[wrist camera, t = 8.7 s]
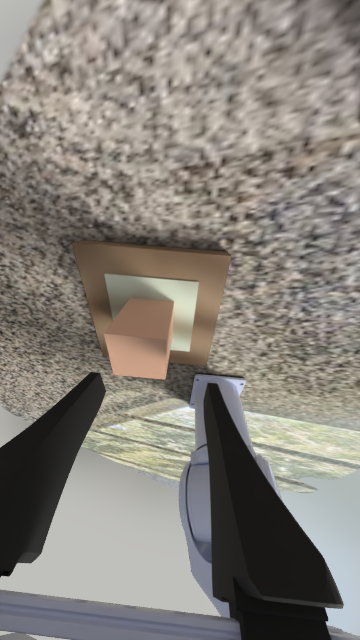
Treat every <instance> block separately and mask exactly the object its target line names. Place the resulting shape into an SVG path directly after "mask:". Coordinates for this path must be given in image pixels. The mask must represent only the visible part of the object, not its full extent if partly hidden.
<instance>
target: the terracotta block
mask: <svg viewBox="0 0 360 640" xmlns="http://www.w3.org/2000/svg"><path fill="white" fill-rule="evenodd" d="M173 317H174V301H164V300H153V299H142V298H130V299H129V300H128V302H127V303H126V304H125V306H124V307H123V308H122V310H121V311H120V312H119V314H118V315H117V316H116V318H115V319H114V321H113V322H112V323H111V325H110V326H109V327H108V329H107V330H106V331H105V333H104V337H105V341H106V345H107V349H108V353H109V357H110V362H111V366H112V370H113V374H114V375H123V376H133V377H143V378H154V379H164V380H165V379H166V373H167V367H168V360H169V354H170V348H171V342H172V335H173Z"/></svg>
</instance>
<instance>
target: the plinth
mask: <svg viewBox="0 0 360 640" xmlns="http://www.w3.org/2000/svg"><path fill="white" fill-rule="evenodd" d="M72 246H73V250H74V253H75V257H76V260H77V264H78V268H79V271H80V275H81V279H82V282H83V286H84V289H85V293H86V297H87V300H88V304H89V307H90V311H91V315H92V318H93V322H94V326H95V329H96V333H97V336H98V340H99V344H100V347H101V351H102V354H103V356H105V357H109V353H108V349H107V345H106V341H105V337H104V333H105V331H106V330H107V329H108V327H109V326H110V325H111V323H112V322H113V321H114V319H115V318H116V316H117V315H118V314H119V312H120V311H121V310H122V308H123V307H124V306H125V304H126V303H127V302H128V300H129V299H130V298H142V299H153V300H164V301H174V317H173V335H172V342H171V348H170V354H169V360H168V362H170V363H181V364H192V365H202V366H206V365H207V361H208V356H209V352H210V347H211V343H212V339H213V334H214V330H215V326H216V321H217V317H218V313H219V308H220V304H221V299H222V295H223V291H224V286H225V282H226V278H227V273H228V269H229V265H230V260H231V255H230V254H229V253H228V252H226V251H213V250H201V249H189V248H177V247H165V246H153V245H140V244H128V243H116V242H104V241H92V240H82V241H78V242H73V243H72Z"/></svg>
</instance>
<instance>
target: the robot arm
mask: <svg viewBox="0 0 360 640" xmlns="http://www.w3.org/2000/svg"><path fill="white" fill-rule="evenodd" d="M245 383H246V380H245V379H244V378H235V377H224V376H214V375H203V374H196V375H195V377H194V383H193V388H192V394H191V399H190V405H189V407H190V408H192V409H195V447H196V451H193V452H191V461H188V462H187V463H186V465H185V467H184V470H183V472H182V474H181V478H180V485H179V510H180V517H181V522H182V526H183V528H184V531H185V535H186V540H187V545H188V552H189V559H190V563H191V572H192V574H193V576H194V578H195V579H196V581H197V582H198V584H199V585H200V587H201V588H202V589H203V591H204V592H205V594H206V595H207V596H208V598H209V599H210V600H211V602H212V603H213V605H214V606H215V607H216V609H217V610H218V612H219V613H220V615H221V616H222V617H219V616H210V615H203V614H195V613H186V612H178V611H170V610H161V609H153V608H145V607H136V606H129V605H120V604H113V603H104V602H96V601H88V600H79V599H71V598H63V597H54V596H47V595H38V594H30V593H22V592H14V591H6V590H0V631H8V632H16V633H11V634H6V635H2V636H0V640H36V639H34V638H32V637H30V636H28V635H26V634H32V635H39V636H47V637H55V638H63V639H71V640H360V636H356V635H352V634H350V633H347V632H343V631H342V630H341V629H338V628H335V627H333V626H327V625H326V622H325V621H328V616H327V613H326V610H325V607H327V608H338V609H339V608H340V609H341V608H343V605H344V604H343V601H342V599H341V596H340V593H339V591H338V589H337V586H336V583H335V581H334V579H333V577H332V575H331V572H330V570H329V568H328V566H327V564H326V562H325V560H324V558H323V556H322V555H321V553H320V552H319V551H318V549H317V548H316V547H315V546H314V544H313V543H312V541H311V540H310V539H309V537H308V536H307V535H306V534H305V532H304V531H303V530H302V528H301V527H300V526H299V524H298V523H297V521H296V520H295V519H294V517H293V516H292V514H291V513H290V512H289V510H288V509H287V508H286V506H285V505H284V503H283V502H282V499H281V496H280V493H279V490H278V487H277V484H276V481H275V478H274V475H273V472H272V469H271V467H270V464H269V462H268V461H267V460H266V459H265V458H263V456H262V455H260V454H259V455H256V454H255V452H254V449H253V445H252V441H251V437H250V434H249V430H248V426H247V422H246V418H245V415H244V411H243V407H242V403H241V400H240V394H241V392H242V389H243V387H244V385H245ZM105 393H106V390H105V387H104V384H103V381H102V378H101V375H100V373H95V372H91V373H89V374H88V375H87V376H86V377H85V378H84V379H83V380H82V381H81V382H80V383H79V384H78V385H77V386H75V387H74V388H73V389H72V390H71V391H70V392H69V393H68V394H67V395H66V396H65V397H63V398H62V399H61V400H60V401H59V402H58V403H57V404H56V405H54V406H53V407H52V408H51V409H50V410H49V411H47V412H46V413H45V414H44V415H43V416H41V417H40V418H39V419H38V420H37V421H35V422H34V423H33V424H32V425H30V426H29V427H28V428H26V429H25V430H24V431H23V432H21V433H20V434H19V435H17V436H16V437H14V438H13V439H12V440H11V441H9V442H8V443H6V444H5V445H3V446H2V447H1V448H0V577H1V576H10V575H11V573H12V572H13V569H14V568H15V566H16V564H17V563H32V562H33V561H34V560H35V559H36V558H37V557H38V556H39V555H40V554H41V552H42V549H43V546H44V543H45V540H46V537H47V534H48V531H49V528H50V525H51V522H52V519H53V516H54V513H55V510H56V508H57V505H58V502H59V499H60V497H61V494H62V491H63V488H64V486H65V483H66V480H67V478H68V475H69V473H70V470H71V468H72V465H73V463H74V461H75V458H76V456H77V453H78V451H79V449H80V447H81V445H82V443H83V441H84V439H85V437H86V435H87V433H88V431H89V429H90V427H91V425H92V423H93V421H94V419H95V417H96V415H97V413H98V411H99V408H100V406H101V404H102V401H103V398H104V395H105Z"/></svg>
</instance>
